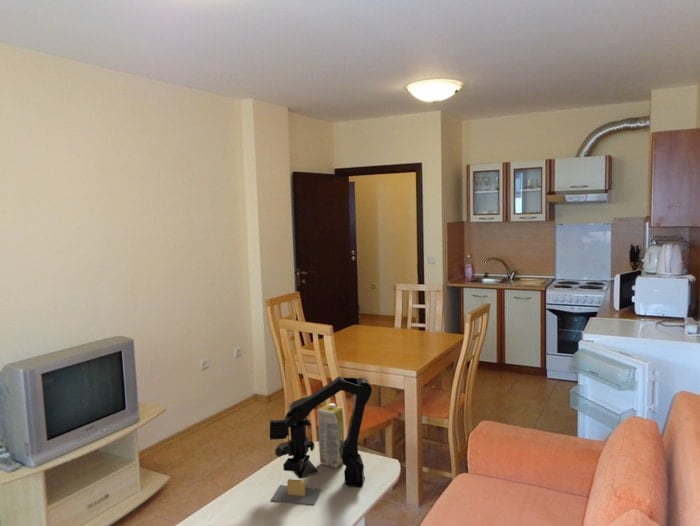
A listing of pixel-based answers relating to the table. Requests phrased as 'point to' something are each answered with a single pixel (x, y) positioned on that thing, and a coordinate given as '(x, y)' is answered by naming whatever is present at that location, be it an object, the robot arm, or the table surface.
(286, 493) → the charcoal mat
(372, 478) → the table surface
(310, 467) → the phone
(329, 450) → the juice carton
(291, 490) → the ochre block
